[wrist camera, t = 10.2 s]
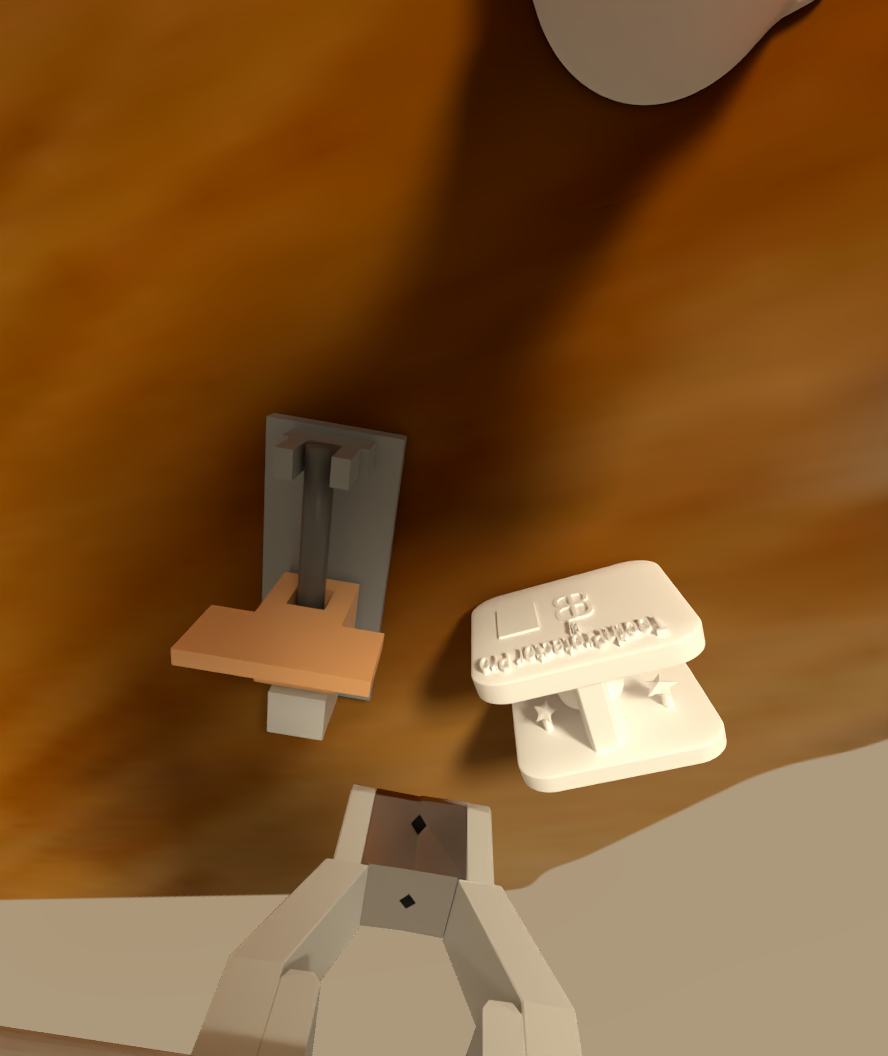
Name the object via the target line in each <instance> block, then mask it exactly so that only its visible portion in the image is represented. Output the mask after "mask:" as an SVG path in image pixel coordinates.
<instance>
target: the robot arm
mask: <svg viewBox="0 0 888 1056" xmlns="http://www.w3.org/2000/svg"><path fill="white" fill-rule="evenodd" d="M812 1H814V0H533V2H534V6H535V9H536V13H537V16H538V19H539V21H540V24H541V27H542V29H543V31H544V34H545V36H546V38H547V40H548V42H549V44H550V46H551V47H552V49H553V51H554V52H555V54H556V56H557V57H558V58H559V60H560V61H561V62H562V64H563V65H564V66H565V67H566V68H567V70H568V71H569V72H570V73H571V74H572V75H573V76H574V77H575V78H576V79H577V80H579V81H580V82H581V83H582V84H583V85H585V86H586V87H588V88H589V89H591V90H592V91H594V92H596V93H598V94H599V95H601V96H604V97H606V98H608V99H611V100H614V101H617V102H622V103H626V104H633V105H655V104H662V103H667V102H672V101H675V100H678V99H682V98H684V97H687V96H689V95H692V94H694V93H696V92H698V91H700V90H702V89H704V88H705V87H707V86H709V85H710V84H712V83H714V82H715V81H716V80H718V79H719V78H721V77H722V76H723V75H725V74H726V73H727V72H728V71H730V70H731V69H732V68H733V67H734V66H735V65H736V64H738V63H739V62H740V61H741V60H742V59H743V58H744V57H745V56H746V55H747V54H748V52H749V51H750V50H751V49H752V48H753V47H754V46H755V45H756V43H757V42H758V41H759V40H760V39H761V38H762V37H763V36H764V34H765V33H766V32H767V31H768V30H769V29H770V28H771V27H772V26H773V25H774V24H775V23H777V22H778V21H779V20H780V19H781V18H783V17H785V16H787V15H789V14H790V13H792V12H794V11H796V10H798V9H800V8H802V7H804V6H805V5H807V4H809V3H811V2H812ZM359 925H363V926H372V927H380V928H388V929H396V930H403V931H408V932H414V933H419V934H424V935H429V936H435V937H440V938H443V942H444V945H445V948H446V950H447V953H448V955H449V958H450V960H451V963H452V966H453V968H454V971H455V973H456V976H457V978H458V981H459V983H460V986H461V989H462V991H463V994H464V996H465V999H466V1002H467V1004H468V1006H469V1009H470V1012H471V1014H472V1017H473V1020H474V1022H475V1025H476V1029H475V1031H474V1034H473V1037H472V1040H471V1043H470V1045H469V1048H468V1051H467V1054H466V1056H582V1052H581V1045H580V1039H579V1032H578V1026H577V1019H576V1013H575V1010H574V1008H573V1006H572V1005H571V1003H570V1001H569V1000H568V998H567V996H566V995H565V993H564V991H563V990H562V988H561V986H560V985H559V983H558V981H557V980H556V978H555V976H554V974H553V973H552V971H551V969H550V968H549V966H548V964H547V962H546V961H545V959H544V958H543V956H542V954H541V952H540V951H539V949H538V947H537V946H536V944H535V942H534V941H533V939H532V937H531V935H530V934H529V932H528V930H527V929H526V927H525V926H524V924H523V922H522V920H521V919H520V917H519V915H518V914H517V912H516V910H515V908H514V907H513V905H512V903H511V902H510V900H509V899H508V897H507V895H506V893H505V892H504V890H503V888H502V887H501V886H498V885H494V869H493V846H492V823H491V810H490V808H489V806H483V805H477V804H471V803H465V802H461V801H455V800H448V799H441V798H434V797H427V796H421V797H420V796H415V795H410V794H404V793H399V792H394V791H389V790H383V789H378V788H377V790H376V788H372V787H366V786H361V785H355V784H354V785H353V787H352V790H351V792H350V796H349V800H348V804H347V807H346V811H345V815H344V819H343V823H342V827H341V831H340V834H339V838H338V842H337V846H336V850H335V854H334V858H333V859H328V858H326V859H325V860H324V861H323V862H322V863H321V864H320V865H319V866H318V867H317V868H316V869H315V870H314V871H313V872H312V873H311V874H310V875H309V876H308V877H307V878H306V879H305V880H304V881H303V882H302V883H301V884H300V885H299V886H298V887H297V888H296V889H295V890H294V891H293V892H292V893H291V894H290V895H289V896H288V897H287V898H286V899H285V900H284V902H282V903H281V904H280V905H279V906H278V907H277V909H275V910H274V911H273V912H272V913H271V914H270V915H269V916H268V917H267V918H266V920H265V921H264V922H263V923H262V924H261V925H260V926H259V927H258V928H257V929H256V930H255V931H254V932H253V933H252V934H251V935H250V936H249V937H248V938H247V939H246V940H245V941H244V942H243V943H242V944H241V945H240V946H239V947H238V948H237V949H236V950H235V951H234V952H233V953H232V954H231V955H230V956H229V958H228V961H227V964H226V966H225V969H224V971H223V974H222V976H221V979H220V981H219V984H218V987H217V989H216V992H215V994H214V997H213V999H212V1002H211V1005H210V1007H209V1010H208V1012H207V1015H206V1017H205V1020H204V1023H203V1025H202V1028H201V1030H200V1033H199V1035H198V1038H197V1041H196V1043H195V1046H194V1048H193V1051H192V1053H191V1055H187V1054H180V1053H174V1052H167V1051H160V1050H153V1049H147V1048H141V1047H135V1046H127V1045H121V1044H114V1043H108V1042H102V1041H95V1040H88V1039H82V1038H75V1037H69V1036H62V1035H56V1034H49V1033H43V1032H36V1031H30V1030H23V1029H16V1028H10V1027H3V1026H0V1056H312V1052H313V1043H314V1034H315V1027H316V1018H317V1010H318V1001H319V992H320V984H321V982H320V981H321V980H322V978H323V977H324V976H325V974H326V973H327V971H328V970H329V969H330V968H331V966H332V965H333V963H334V962H335V961H336V959H337V958H338V957H339V955H340V954H341V952H342V951H343V950H344V948H345V947H346V945H347V944H348V943H349V941H350V940H351V939H352V937H353V936H354V935H355V933H356V932H357V930H358V929H359Z"/></svg>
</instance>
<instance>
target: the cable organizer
mask: <svg viewBox="0 0 888 1056" xmlns="http://www.w3.org/2000/svg"><path fill="white" fill-rule="evenodd" d="M704 647H705V639H704V633H703V628H702V622H701V620H700V618H699V617H698V616H697V614H696V613H695V612H694V610H693V609H692V608H691V607H690V605H689V604H688V603H687V601H686V600H685V599H684V598H683V596H682V595H681V594H680V592H679V591H678V590H677V588H676V587H675V586H674V585H673V583H672V582H671V581H670V579H669V578H668V577H667V576H666V574H665V573H664V572H663V570H662V569H661V568H660V567H659V565H658V564H656V563H654V562H651V561H643V560H638V561H628V562H623V563H619V564H615V565H612V566H608V567H604V568H601V569H597V570H593V571H589V572H586V573H582V574H578V575H575V576H571V577H567V578H564V579H560V580H556V581H552V582H549V583H545V584H541V585H538V586H534V587H530V588H527V589H523V590H519V591H515V592H512V593H508V594H504V595H501V596H497V597H494V598H491V599H489V600H487V601H485V602H483V603H481V604H480V605H478V606H477V607H476V608H475V609H474V610H473V612H472V615H471V677H472V680H473V682H474V685H475V687H476V690H477V692H478V695H479V697H480V698H481V699H482V700H484V701H485V702H488V703H492V704H511V703H512V712H513V722H514V731H515V741H516V751H517V760H518V766H519V769H520V772H521V774H522V777H523V779H524V781H525V783H526V784H527V785H528V786H529V787H531V788H533V789H534V790H537V791H541V792H558V791H563V790H568V789H573V788H579V787H584V786H589V785H594V784H599V783H604V782H609V781H614V780H619V779H624V778H629V777H634V776H639V775H644V774H649V773H654V772H660V771H665V770H670V769H675V768H680V767H685V766H690V765H695V764H700V763H704V762H707V761H710V760H712V759H714V758H716V757H717V756H719V755H720V754H721V753H722V752H723V750H724V749H725V747H726V742H727V741H726V735H725V729H724V724H723V722H722V720H721V718H720V717H719V715H718V713H717V712H716V710H715V709H714V707H713V705H712V704H711V702H710V701H709V699H708V698H707V696H706V694H705V693H704V691H703V690H702V688H701V686H700V685H699V683H698V682H697V680H696V679H695V677H694V675H693V674H692V672H691V671H690V669H689V667H688V666H687V664H686V663H685V662H688V661H690V660H692V659H693V658H695V657H696V656H698V655H699V654H700V653H701V652H702V651H703V649H704Z"/></svg>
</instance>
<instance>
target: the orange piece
mask: <svg viewBox="0 0 888 1056" xmlns="http://www.w3.org/2000/svg"><path fill="white" fill-rule="evenodd" d="M359 585H360V584H356V583H350V582H344V581H338V580H332V579H327V580H326V592H325V605H324V610H321V609H315V608H309V607H303V606H297V592H298V574H296V573H290V572H285V573H284V574H283V575H282V577H281V578H280V579H279V581H278V582H277V583H276V585H275V586H274V587H273V589H272V590H271V591H270V592H269V594H268V595H267V596H266V598H265V599H264V600H263V602H262V603H261V604H260V606H259V607H258V608H257V610H256V611H255V612H253V611H247V610H241V609H235V608H229V607H223V606H217V605H211V606H210V607H209V608H208V609H207V610H206V611H205V612H204V613H203V614H202V615H201V616H200V617H199V619H198V620H197V621H196V622H195V623H194V624H193V625H192V626H191V627H190V628H189V629H188V630H187V631H186V633H185V634H184V635H183V636H182V637H181V638H180V639H179V640H178V641H177V642H176V643H175V644H174V645H173V647H172V648H171V663H172V665H175V666H181V667H187V668H193V669H200V670H206V671H212V672H218V673H224V674H230V675H236V676H242V677H248V678H254V681H255V682H261V683H267V684H273V685H279V686H285V687H291V688H297V689H303V690H309V691H315V692H322V693H328V694H334V695H335V693H336V692H339V693H345V694H351V695H357V696H363V697H369V695H370V692H371V688H372V684H373V681H374V677H375V673H376V670H377V666H378V663H379V659H380V655H381V652H382V648H383V641H384V634H385V633H379V632H373V631H367V630H361V629H355V622H356V613H357V604H358V595H359Z"/></svg>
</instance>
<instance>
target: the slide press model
mask: <svg viewBox="0 0 888 1056" xmlns="http://www.w3.org/2000/svg"><path fill="white" fill-rule="evenodd" d="M406 441H407V436H406V435H400V434H394V433H388V432H383V431H377V430H371V429H365V428H359V427H354V426H348V425H342V424H336V423H330V422H325V421H319V420H313V419H307V418H301V417H296V416H290V415H284V414H278V413H272V414H270V415H268V416H266V451H265V493H264V535H263V577H262V602H263V600H264V599H265V598H266V596H267V595H268V594H269V592H270V591H271V590H272V589H273V587H274V586H275V585H276V583H277V582H278V581H279V579H280V578H281V577H282V575H283V574H284V573H285V572H290V573H296V574H298V592H297V606H303V607H309V608H315V609H321V610H324V605H325V592H326V580H327V579H332V580H338V581H344V582H350V583H356V584H360V585H359V595H358V604H357V613H356V622H355V629H361V630H367V631H373V632H379V633H381V627H382V620H383V612H384V605H385V597H386V590H387V582H388V575H389V567H390V560H391V553H392V545H393V538H394V530H395V523H396V515H397V508H398V500H399V493H400V485H401V478H402V470H403V463H404V456H405V448H406ZM374 679H375V677H374ZM260 683H261V682H260ZM265 684H267V683H265ZM271 685H272V686H271V687H270V689H269V691H268V711H267V732H272V733H279V734H285V735H291V736H297V737H303V738H309V739H315V740H321V741H322V739H323V737H324V734H325V731H326V728H327V725H328V723H329V720H330V717H331V714H332V712H333V709H334V706H335V703H336V700H337V698H338V696H343V697H350V698H356V699H362V700H368V701H370V699H371V696H372V692H373V687H374V681H373V684H372V688H371V692H370V695H369V697H363V696H357V695H351V694H345V693H339V692H336V693H335V695H334V694H328V693H322V692H315V691H309V690H303V689H297V688H291V687H285V686H279V685H273V684H271Z"/></svg>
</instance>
